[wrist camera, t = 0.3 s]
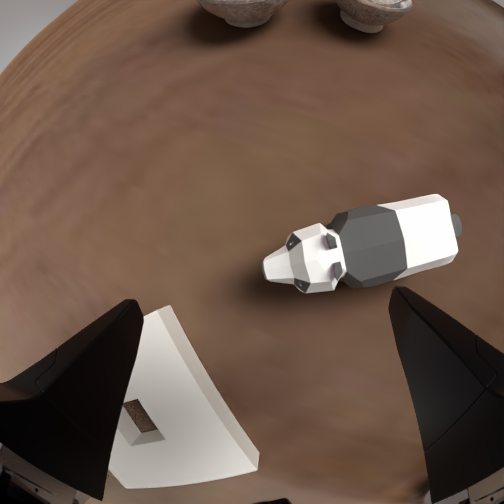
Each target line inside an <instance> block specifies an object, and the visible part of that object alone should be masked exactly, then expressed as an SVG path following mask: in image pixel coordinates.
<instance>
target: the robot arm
mask: <svg viewBox="0 0 504 504" xmlns="http://www.w3.org/2000/svg"><path fill="white" fill-rule="evenodd" d="M389 314H390V319H391V323H392V327H393V332H394V336H395V341H396V346H397V349H398V353H399V356H400V359H401V362H402V366H403V369H404V372H405V376H406V379H407V383H408V386H409V390H410V393H411V397H412V401H413V405H414V409H415V413H416V417H417V421H418V425H419V430H420V434H421V439H422V444H423V449H424V452H425V453H424V455H425V461H426V467H427V473H428V480H429V487H430V495H431V502H432V504H434V503H436V502H439V501H441V500H443V499H446V498H448V497H450V496H453V495H455V494H457V493H459V492H461V491H463V490H465V489H467V491H468V497H469V498H467V499H465V500H463V501H461V502H459V504H504V353H502V352H500V351H499V350H497V349H496V348H494V347H493V346H491V345H490V344H489V343H487V342H486V341H484V340H483V339H482V338H480V337H479V336H478V335H475V333H473V332H472V331H471V330H469V329H468V328H466V327H465V326H464V325H462V324H461V323H459V322H458V321H457V320H455V319H454V318H452V317H451V316H449V315H448V314H447V313H445V312H444V311H442V310H441V309H439V308H438V307H436V306H435V305H433V304H432V303H430V302H429V301H427V300H426V299H424V298H423V297H421V296H420V295H418V294H417V293H415V292H414V291H412V290H411V289H409V288H408V287H406V286H395V287H394V288H393V290H392V294H391V298H390V302H389ZM143 324H144V317H143V314H142V312H141V309H140V307H139V305H138V302H137V301H136V300H134V299H126V300H124V301H122V302H121V303H119V304H118V305H117V306H115V307H114V308H112V309H111V310H109V311H108V312H107V313H105V314H104V315H102V316H101V317H99V318H98V319H97V320H95V321H94V322H92V323H91V324H90V325H88V326H87V327H85V328H84V329H83V330H81V331H80V332H78V333H77V334H76V335H74V336H73V337H72V338H70V339H69V340H67V341H66V342H65V343H63V344H62V345H61V346H59V347H58V349H57V348H56V349H55V350H54V351H52V352H51V353H50V354H48V355H47V356H46V357H44V358H43V359H41V360H40V361H38V362H37V363H35V364H34V365H32V366H31V367H29V368H28V369H26V370H25V371H23V372H22V373H20V374H18V375H17V376H15V377H14V378H12V379H11V380H9V381H7V382H4V383H0V504H79V502H78V500H77V499H75V496H76V493H77V490H78V491H80V492H82V493H84V494H86V495H88V496H91V497H93V498H95V499H98V500H100V501H102V499H103V495H104V489H105V483H106V477H107V472H108V467H109V462H110V457H111V452H112V448H113V443H114V439H115V434H116V430H117V426H118V422H119V418H120V414H121V410H122V406H123V403H124V399H125V395H126V392H127V388H128V385H129V381H130V378H131V374H132V371H133V368H134V364H135V361H136V357H137V353H138V348H139V343H140V338H141V333H142V329H143ZM264 504H292V503H291V502H290V501H289V500H288V499H281V500H277V501H273V502H269V503H264Z"/></svg>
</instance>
